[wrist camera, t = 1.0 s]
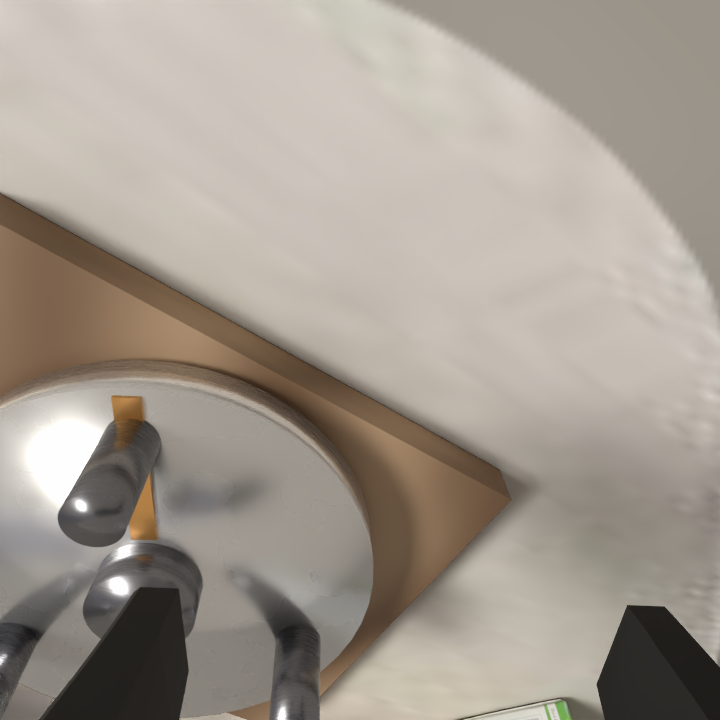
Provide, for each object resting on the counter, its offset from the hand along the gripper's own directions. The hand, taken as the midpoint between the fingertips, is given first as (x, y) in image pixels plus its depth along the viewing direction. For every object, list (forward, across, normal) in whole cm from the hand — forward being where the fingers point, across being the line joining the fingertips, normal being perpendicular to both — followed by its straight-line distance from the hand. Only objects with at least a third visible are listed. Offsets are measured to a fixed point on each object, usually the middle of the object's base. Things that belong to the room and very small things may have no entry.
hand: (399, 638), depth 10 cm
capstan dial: (+8, +6, +6) cm, 11 cm away
